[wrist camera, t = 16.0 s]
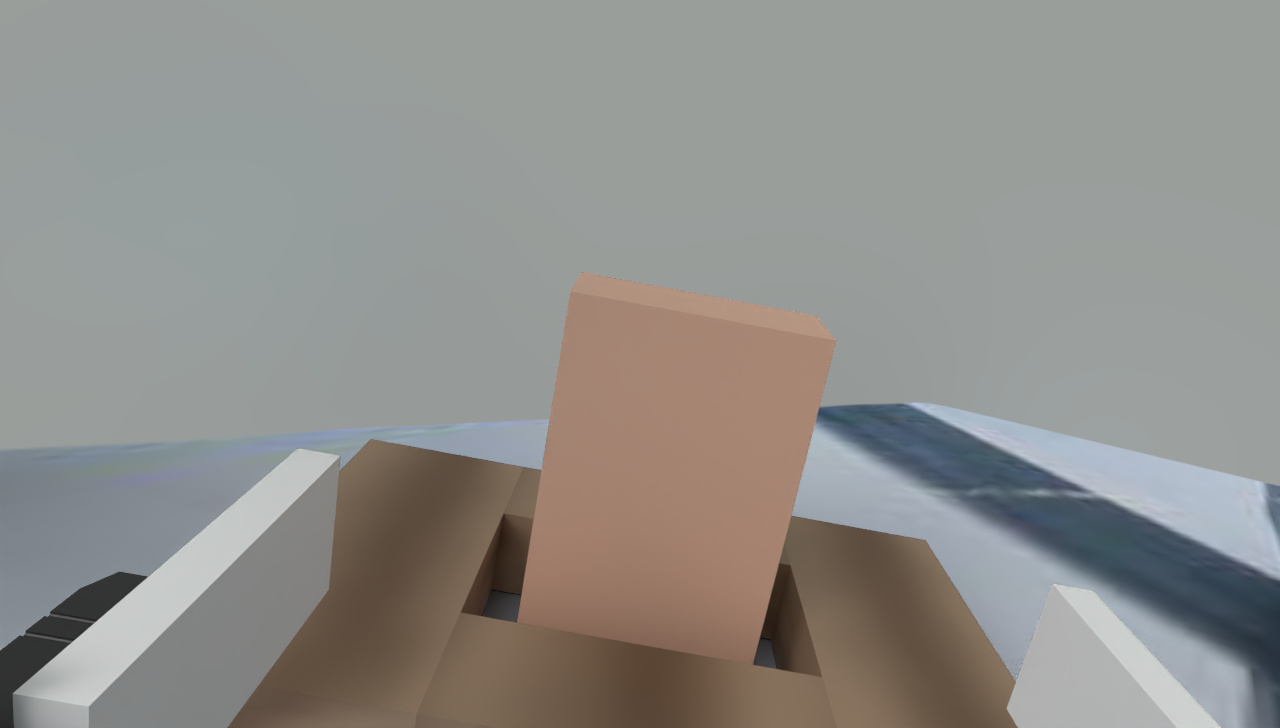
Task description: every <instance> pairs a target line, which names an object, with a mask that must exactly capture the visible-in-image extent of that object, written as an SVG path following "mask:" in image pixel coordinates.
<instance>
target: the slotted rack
mask: <svg viewBox="0 0 1280 728" xmlns="http://www.w3.org/2000/svg"><path fill="white" fill-rule="evenodd" d="M541 471H542V470H537V469H531V468H526V467H520V466H515V465H509V464H504V463H498V462H493V461H488V460H482V459H477V458H471V457H466V456H460V455H455V454H449V453H444V452H438V451H433V450H427V449H422V448H416V447H411V446H405V445H400V444H394V443H389V442H383V441H378V440H372V439H371V440H370V441H369V442H368V443H367V444H366V445H365V446H364V447H363V448H362V449H361V450H360V451H359V452H358V453H357V454H356V455H355V456H354V457H353V458H352V459H351V460H350V461H349V462H348V463H347V464H346V465H345V466H344V467H343V468H342V469H341V470H340V471H339V478H338V489H337V501H336V513H335V524H334V536H333V547H332V559H331V570H330V582H329V590H328V591H327V593H326V594H325V595H324V597H323V598H322V599H321V601H320V602H319V604H318V605H317V606H316V608H315V609H314V610H313V612H312V613H311V614H310V616H309V617H308V619H307V620H306V621H305V623H304V624H303V625H302V627H301V628H300V629H299V631H298V632H297V634H296V635H295V636H294V638H293V639H292V640H291V642H290V643H289V644H288V646H287V647H286V648H285V650H284V651H283V653H282V654H281V655H280V657H279V658H278V659H277V661H276V662H275V663H274V665H273V666H272V668H271V669H270V670H269V672H268V673H267V674H266V676H265V677H264V678H263V680H262V681H261V683H260V684H259V685H258V687H257V688H256V689H255V691H254V692H253V693H252V695H251V696H250V698H249V699H248V700H247V702H246V703H245V704H244V706H243V707H242V708H241V710H240V711H239V712H238V714H237V715H236V717H235V718H234V719H233V721H232V722H231V723H230V725H229V726H228V727H227V728H1018V727H1017V725H1016V724H1015V722H1014V720H1013V719H1012V717H1011V715H1010V714H1009V712H1008V710H1007V709H1006V708H1007V706H1008V703H1009V700H1010V697H1011V695H1012V692H1013V689H1014V687H1015V684H1016V682H1015V680H1014V679H1013V677H1012V676H1011V674H1010V673H1009V671H1008V669H1007V668H1006V666H1005V665H1004V663H1003V662H1002V660H1001V658H1000V657H999V655H998V654H997V652H996V651H995V649H994V647H993V646H992V644H991V643H990V641H989V639H988V638H987V636H986V635H985V633H984V632H983V630H982V628H981V627H980V625H979V624H978V622H977V621H976V619H975V617H974V616H973V614H972V613H971V611H970V610H969V608H968V606H967V605H966V603H965V602H964V600H963V599H962V597H961V595H960V594H959V592H958V591H957V589H956V588H955V586H954V584H953V583H952V581H951V580H950V578H949V577H948V575H947V573H946V572H945V570H944V569H943V567H942V566H941V564H940V562H939V561H938V559H937V558H936V556H935V554H934V553H933V551H932V550H931V548H930V547H929V545H928V543H927V542H926V540H921V539H915V538H910V537H904V536H899V535H893V534H888V533H882V532H877V531H871V530H866V529H860V528H855V527H849V526H844V525H839V524H833V523H828V522H822V521H817V520H811V519H806V518H800V517H795V516H791V519H790V522H789V526H788V530H787V534H786V538H785V542H784V546H783V550H782V553H781V557H780V561H779V565H778V569H777V573H776V577H775V581H774V585H773V588H772V592H771V596H770V600H769V604H768V608H767V612H766V616H765V619H764V623H763V627H762V631H761V635H760V638H765V639H771V642H772V647H773V652H774V657H775V662H776V667H777V669H774V668H768V667H763V666H757V665H751V664H746V663H740V662H735V661H729V660H723V659H718V658H712V657H707V656H701V655H695V654H690V653H684V652H679V651H673V650H667V649H662V648H656V647H651V646H645V645H639V644H634V643H628V642H623V641H617V640H612V639H606V638H600V637H595V636H589V635H584V634H578V633H572V632H567V631H561V630H556V629H550V628H544V627H539V626H533V625H528V624H522V623H516V622H511V621H505V620H500V619H494V618H489V617H483V616H482V614H483V612H484V609H485V607H486V604H487V601H488V599H489V596H490V594H491V591H492V590H497V591H503V592H509V593H514V594H520V595H522V589H523V582H524V576H525V570H526V564H527V558H528V552H529V545H530V539H531V533H532V527H533V521H534V514H535V508H536V502H537V496H538V490H539V483H540V477H541Z"/></svg>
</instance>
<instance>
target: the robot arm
mask: <svg viewBox="0 0 1280 728" xmlns="http://www.w3.org/2000/svg"><path fill="white" fill-rule="evenodd" d="M339 466H340V456H339V455H333V454H328V453H322V452H317V451H311V450H305V449H300V448H298V449H296V450H295V451H294V452H293V453H292V454H291V455H289V456H288V457H287V458H286V459H285V460H284V461H282V462H281V463H280V464H279V465H278V466H277V467H276V468H274V469H273V470H272V471H271V472H270V473H269V474H267V475H266V476H265V477H264V478H263V479H262V480H260V481H259V482H258V483H257V484H256V485H255V486H253V487H252V488H251V489H250V490H249V491H248V492H246V493H245V494H244V495H243V496H242V497H241V498H239V499H238V500H237V501H236V502H235V503H234V504H232V505H231V506H230V507H229V508H228V509H227V510H225V511H224V512H223V513H222V514H221V515H220V516H219V517H217V518H216V519H215V520H214V521H213V522H212V523H210V524H209V525H208V526H207V527H206V528H205V529H203V530H202V531H201V532H200V533H199V534H198V535H196V536H195V537H194V538H193V539H192V540H191V541H189V542H188V543H187V544H186V545H185V546H184V547H182V548H181V549H180V550H179V551H178V552H177V553H175V554H174V555H173V556H172V557H171V558H170V559H169V560H167V561H166V562H165V563H164V564H163V565H162V566H160V567H159V568H158V569H157V570H156V571H155V572H153V573H152V574H151V575H150V576H149V577H147V576H141V575H135V574H130V573H124V572H118V573H115V574H113V575H111V576H108V577H106V578H104V579H101V580H99V581H97V582H94V583H92V584H90V585H87V586H85V587H83V588H81V589H79V590H78V591H76V592H75V593H74V594H73V595H71V596H70V597H69V598H67V599H66V600H65V601H64V602H62V603H61V604H60V605H58V606H57V607H56V608H55V609H53V610H52V611H51V612H50V615H49V616H48V617H46V616H44V617H43V618H42V619H40V620H39V621H38V622H37V623H35V624H34V625H33V626H31V627H30V628H29V629H28V630H26V633H25V635H24V636H19V637H17V638H16V639H15V640H14V641H12V642H11V643H10V644H8V645H7V646H6V647H5V648H3V649H2V650H1V651H0V728H227V727H228V726H229V725H230V723H231V722H232V721H233V719H234V718H235V717H236V715H237V714H238V712H239V711H240V710H241V708H242V707H243V706H244V704H245V703H246V702H247V700H248V699H249V698H250V696H251V695H252V693H253V692H254V691H255V689H256V688H257V687H258V685H259V684H260V683H261V681H262V680H263V678H264V677H265V676H266V674H267V673H268V672H269V670H270V669H271V668H272V666H273V665H274V663H275V662H276V661H277V659H278V658H279V657H280V655H281V654H282V653H283V651H284V650H285V648H286V647H287V646H288V644H289V643H290V642H291V640H292V639H293V638H294V636H295V635H296V634H297V632H298V631H299V629H300V628H301V627H302V625H303V624H304V623H305V621H306V620H307V619H308V617H309V616H310V614H311V613H312V612H313V610H314V609H315V608H316V606H317V605H318V604H319V602H320V601H321V599H322V598H323V597H324V595H325V594H326V593H327V591H328V590H329V582H330V570H331V559H332V547H333V536H334V524H335V513H336V501H337V489H338V478H339ZM1006 709H1007V710H1008V712H1009V714H1010V715H1011V717H1012V719H1013V720H1014V722H1015V724H1016V725H1017V727H1018V728H1221V727H1220V726H1219V725H1218V724H1217V723H1216V721H1215V720H1214V719H1213V718H1212V717H1211V716H1210V715H1209V714H1208V713H1207V712H1206V711H1205V710H1204V709H1203V708H1202V707H1201V706H1200V704H1199V703H1198V702H1197V701H1196V700H1195V699H1194V698H1193V697H1192V696H1191V695H1190V694H1189V693H1188V692H1187V691H1186V690H1185V688H1184V687H1183V686H1182V685H1181V684H1180V683H1179V682H1178V681H1177V680H1176V679H1175V678H1174V677H1173V676H1172V675H1171V674H1170V672H1169V671H1168V670H1167V669H1166V668H1165V667H1164V666H1163V665H1162V664H1161V663H1160V662H1159V661H1158V660H1157V659H1156V658H1155V657H1154V655H1153V654H1152V653H1151V652H1150V651H1149V650H1148V649H1147V648H1146V647H1145V646H1144V645H1143V644H1142V643H1141V642H1140V641H1139V639H1138V638H1137V637H1136V636H1135V635H1134V634H1133V633H1132V632H1131V631H1130V630H1129V629H1128V628H1127V627H1126V626H1125V625H1124V624H1123V622H1122V621H1121V620H1120V619H1119V618H1118V617H1117V616H1116V615H1115V614H1114V613H1113V612H1112V611H1111V610H1110V609H1109V608H1108V606H1107V605H1106V604H1105V603H1104V602H1103V601H1102V600H1101V599H1100V598H1099V597H1098V596H1097V595H1096V594H1095V593H1094V592H1093V591H1091V590H1086V589H1080V588H1074V587H1069V586H1063V585H1058V584H1052V585H1051V588H1050V591H1049V593H1048V596H1047V599H1046V602H1045V604H1044V607H1043V610H1042V612H1041V615H1040V618H1039V621H1038V623H1037V626H1036V629H1035V632H1034V634H1033V637H1032V640H1031V643H1030V645H1029V648H1028V651H1027V654H1026V656H1025V659H1024V662H1023V665H1022V667H1021V670H1020V673H1019V676H1018V678H1017V681H1016V684H1015V687H1014V689H1013V692H1012V695H1011V697H1010V700H1009V703H1008V706H1007V708H1006Z"/></svg>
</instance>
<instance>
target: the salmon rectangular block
mask: <svg viewBox="0 0 1280 728" xmlns="http://www.w3.org/2000/svg"><path fill="white" fill-rule="evenodd" d="M835 344H836V340H835V339H834V337H833V336H832V335H831V333H830V332H829V331H828V330H827V329H826V328H825V326H824V325H823V324H822V323H821V321H820V320H819V319H818V318H817V316H814V315H808V314H803V313H798V312H792V311H787V310H782V309H776V308H771V307H766V306H761V305H755V304H749V303H744V302H739V301H734V300H729V299H723V298H718V297H712V296H707V295H702V294H696V293H691V292H686V291H680V290H674V289H670V288H664V287H659V286H654V285H648V284H643V283H637V282H632V281H627V280H621V279H616V278H611V277H605V276H600V275H595V274H589V273H584V272H582V274H581V275H580V277H579V278H578V280H577V282H576V283H575V285H574V286H573V288H572V290H571V291H570V298H569V304H568V310H567V316H566V322H565V329H564V335H563V341H562V347H561V353H560V360H559V366H558V372H557V378H556V384H555V391H554V397H553V403H552V409H551V415H550V421H549V428H548V434H547V440H546V446H545V452H544V459H543V465H542V471H541V477H540V483H539V490H538V496H537V502H536V508H535V514H534V521H533V527H532V533H531V539H530V545H529V552H528V558H527V564H526V570H525V576H524V582H523V589H522V595H521V601H520V607H519V613H518V620H517V623H522V624H528V625H533V626H539V627H544V628H550V629H556V630H561V631H567V632H572V633H578V634H584V635H589V636H595V637H600V638H606V639H612V640H617V641H623V642H628V643H634V644H639V645H645V646H651V647H656V648H662V649H667V650H673V651H679V652H684V653H690V654H695V655H701V656H707V657H712V658H718V659H723V660H729V661H735V662H740V663H746V664H751V665H753V662H754V658H755V654H756V650H757V647H758V643H759V639H760V635H761V631H762V627H763V623H764V619H765V616H766V612H767V608H768V604H769V600H770V596H771V592H772V588H773V585H774V581H775V577H776V573H777V569H778V565H779V561H780V557H781V553H782V550H783V546H784V542H785V538H786V534H787V530H788V526H789V522H790V519H791V515H792V511H793V507H794V503H795V499H796V495H797V491H798V488H799V484H800V480H801V476H802V472H803V468H804V464H805V460H806V456H807V453H808V449H809V445H810V441H811V437H812V433H813V429H814V425H815V422H816V418H817V414H818V410H819V406H820V402H821V398H822V394H823V390H824V386H825V383H826V379H827V375H828V371H829V367H830V363H831V359H832V355H833V352H834V348H835Z"/></svg>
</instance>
